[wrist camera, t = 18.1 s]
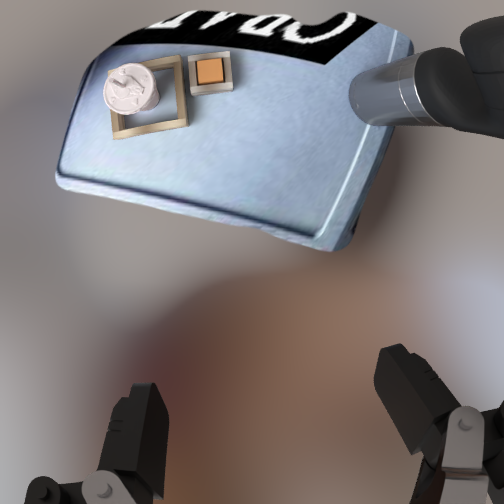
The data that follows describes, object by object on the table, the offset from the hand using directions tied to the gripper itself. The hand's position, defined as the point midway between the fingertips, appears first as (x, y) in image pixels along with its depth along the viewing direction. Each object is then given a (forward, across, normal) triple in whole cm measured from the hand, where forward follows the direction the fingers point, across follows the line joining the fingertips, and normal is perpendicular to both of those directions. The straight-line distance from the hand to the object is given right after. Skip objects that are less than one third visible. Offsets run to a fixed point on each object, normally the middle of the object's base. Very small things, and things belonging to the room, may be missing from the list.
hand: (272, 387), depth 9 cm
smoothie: (+36, +10, -16) cm, 41 cm away
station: (+36, +7, -16) cm, 40 cm away
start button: (+35, +1, -18) cm, 39 cm away
